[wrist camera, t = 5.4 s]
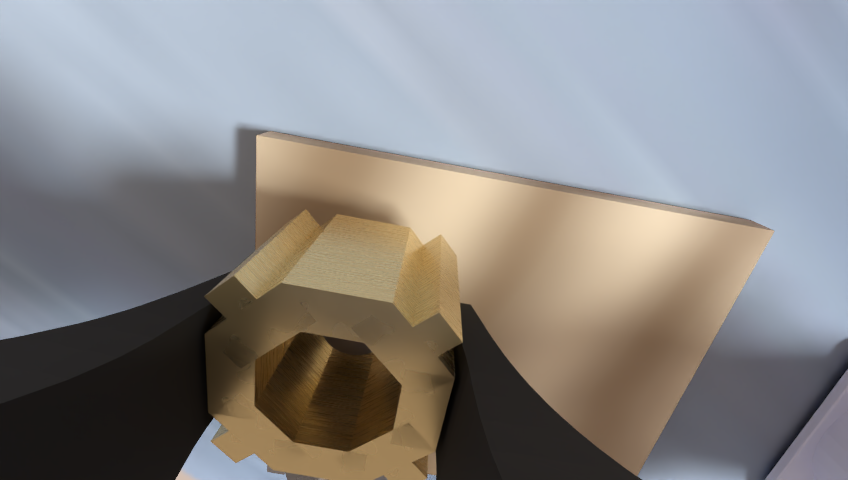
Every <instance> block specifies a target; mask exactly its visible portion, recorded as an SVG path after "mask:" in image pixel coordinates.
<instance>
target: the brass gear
mask: <svg viewBox="0 0 848 480" xmlns="http://www.w3.org/2000/svg"><path fill="white" fill-rule="evenodd" d="M204 297H205V298H206V299H207V300H208V301H209V302H210V303H211V304H212V305H213V306H214V307H215V308H216V309H217V310H218V311H219V312H220V313H221V314H222V316H221V317H220V318H219V319H218V320H217V322H216V323H215V324H214V325H213V326H212V327H211V328H210V329H209V330H208V331H207V332H206V333H205V353H206V375H207V396H208V413H209V414H211V415H212V416H213V417H214V418H215V419H216V420H217V421H219V422H220V423H221V424H222V425H221V426H220V428H219V429H218V431H217V433H216V434H215V436H214V437H213V439H212V440H211V442H212V443H213V444H214V445H215V446H217V447H218V448H219V449H220V450H221V451H222V452H224V453H225V454H226V455H227V456H228V457H229V458H231V459H232V460H233V461H234V462H235V463H237V462H239V461H241V460H243V459H245V458H246V457H248V456H250V455H252V454H254V453H255V454H256V455H257V456H258V457H259V458H260V459H261V460H263V461H264V462H265V463H266V464H267V465H268V466H269V467H270V468H272V469H273V470H275V471H281V472H287V473H293V474H299V475H305V476H311V477H317V478H323V479H328V480H374V479H376V478H378V477H381V476H383V475H384V476H385V477H386V478H387V479H388V480H424V479H427V470H428V455H429V454H431V453H433V452H435V451H436V447H437V443H438V440H439V436H440V432H441V428H442V424H443V421H444V417H445V413H446V409H447V406H448V402H449V398H450V394H451V390H452V387H453V383H454V379H455V369H454V347H455V346H457V345H459V344H461V343H463V338H462V324H461V309H460V295H459V280H458V266H457V255H456V254H455V253H454V251H453V250H452V248H451V247H450V246H449V244H448V243H447V241H446V240H445V239H444V237H443V236H442V235H441V234H440V235H439V236H437V237H436V238H434V239H432V240H431V241H429V242H428V243H426V244H424V245H423V244H422V242H421V241H420V240H419V238H418V237H417V236H416V234H415V233H414V232H413V230H412V229H411V228H410V227H405V226H399V225H394V224H389V223H383V222H378V221H372V220H367V219H361V218H356V217H351V216H345V215H340V214H336V215H335V216H334V217H332V218H331V219H329V220H328V221H326V222H325V223H324V224H322V225H321V226H320V225H319V224H318V223H317V222H316V221H315V219H314V218H313V217H312V216H311V215H310V213H309V212H308V211H307V210H306V209H305V210H304V211H303V212H301V213H300V214H299V215H297V216H296V217H294V218H293V219H292V220H290V221H289V222H287V223H286V224H285V225H284V226H282V227H281V228H280V229H279V230H278V231H277V232H276V233H275V234H274V235H272V236H271V237H270V238H269V239H268V240H267V241H266V242H265V243H263V244H262V245H261V246H260V247H259V248H258V249H257V250H256V251H254V252H253V253H252V254H251V255H250V256H249V257H248V258H247V259H246V260H244V261H243V262H242V263H241V264H240V265H239V266H238V267H237V268H235V269H234V270H233V271H232V272H231V273H230V274H229V275H228V276H226V277H225V278H224V279H223V280H222V281H221V282H220V283H219V284H218V285H216V286H215V287H214V288H213V289H212V290H211V291H210V292H209V293H207V294H206V295H205V296H204ZM323 336H328V337H334V338H339V339H345V340H351V341H356V342H362V343H365V344H366V345H367V347H368V348H369V349H370V350H371V351H372V352H371V353H368V354H364V355H349V354H345V353H342V352H340V351H338V350H336V349H334V348H333V347H332V346H331V345H330V344H329V343H328V342H327V341H326V340H325V338H324V337H323Z"/></svg>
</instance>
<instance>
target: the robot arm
mask: <svg viewBox="0 0 848 480" xmlns="http://www.w3.org/2000/svg"><path fill="white" fill-rule="evenodd" d="M231 272H232V271H231ZM231 272H229V273H226V274H224V275H221V276H219V277H216V278H214V279H211V280H209V281H206V282H204V283H201V284H199V285H196V286H193V287H191V288H188V289H186V290H183V291H181V292H178V293H175V294H172V295H169V296H167V297H164V298H161V299H158V300H155V301H153V302H150V303H147V304H144V305H141V306H138V307H135V308H132V309H129V310H126V311H122V312H119V313H116V314H112V315H109V316H105V317H101V318H98V319H94V320H90V321H87V322H83V323H79V324H74V325H70V326H65V327H61V328H56V329H52V330H47V331H43V332H38V333H34V334H29V335H25V336H20V337H14V338H9V339H3V340H0V480H175V479H176V477H177V476H178V474H179V472H180V470H181V469H182V467H183V465H184V463H185V462H186V460H187V458H188V456H189V455H190V453H191V451H192V449H193V448H194V446H195V445H196V443H197V441H198V440H199V438H200V437H201V435H202V434H203V432H204V431H205V429H206V428H207V426H208V425H209V424H210V422H211V421H212V419H213V418H214V417H213V416H212V415H211V414H209V413H208V396H207V375H206V353H205V333H206V332H207V331H208V330H209V329H210V328H211V327H212V326H213V325H214V324H215V323H216V322H217V320H218V319H219V318H220V317H221V316H222V314H221V313H220V312H219V311H218V310H217V309H216V308H215V307H214V306H213V305H212V304H211V303H210V302H209V301H208V300H207V299H206V298H205V297H204V296H205V295H206V294H207V293H209V292H210V291H211V290H212V289H213V288H214V287H215V286H216V285H218V284H219V283H220V282H221V281H222V280H223V279H224V278H225V277H226V276H228V275H229V274H230V273H231ZM460 309H461V324H462V338H463V343H461V344H459V345H457V346H455V347H454V369H455V379H454V383H453V387H452V390H451V394H450V398H449V402H448V406H447V409H446V413H445V417H444V421H443V424H442V428H441V432H440V436H439V440H438V443H437V447H436V480H642V479H640V478H639V477H637V476H636V475H634V474H633V473H631V472H630V471H629V470H627V469H626V468H624V467H623V466H622V465H620V464H619V463H618V462H616V461H615V460H614V459H612V458H611V457H610V456H608V455H607V454H606V453H604V452H603V451H602V450H600V449H599V448H598V447H597V446H595V445H594V444H593V443H592V442H590V441H589V440H588V439H587V438H585V437H584V436H583V435H582V434H581V433H579V432H578V431H577V430H576V429H575V428H574V427H573V426H572V425H570V424H569V423H568V422H567V421H566V420H565V419H564V418H562V417H561V416H560V415H559V414H558V413H557V412H556V411H555V410H554V409H553V408H552V407H551V406H550V405H548V404H547V403H546V402H545V400H544V399H543V398H542V397H541V396H540V395H539V394H538V393H537V392H536V391H535V390H534V389H533V388H532V387H531V386H530V385H529V384H528V383H527V382H526V380H525V379H524V378H523V377H522V376H521V375H520V374H519V372H518V371H517V370H516V369H515V367H514V366H513V365H512V364H511V363H510V361H509V360H508V359H507V357H506V356H505V355H504V354H503V352H502V351H501V349H500V348H499V347H498V345H497V344H496V342H495V341H494V340H493V338H492V337H491V335H490V334H489V332H488V331H487V329H486V327H485V326H484V324H483V323H482V321H481V320H480V318H479V316H478V315H477V313H476V312H475V310H474V309H473V307H472V306H471V305H470V304H465V303H460ZM765 480H848V369H847V370H846V372H845V373H844V374H843V376H842V377H841V378H840V380H839V381H838V383H837V384H836V385H835V387H834V388H833V389H832V391H831V392H830V393H829V395H828V396H827V397H826V399H825V400H824V401H823V403H822V404H821V405H820V407H819V408H818V409H817V411H816V412H815V413H814V415H813V416H812V417H811V419H810V420H809V421H808V423H807V424H806V425H805V427H804V428H803V429H802V431H801V432H800V433H799V435H798V436H797V437H796V439H795V440H794V441H793V443H792V444H791V445H790V447H789V448H788V449H787V451H786V452H785V453H784V455H783V456H782V457H781V459H780V460H779V461H778V463H777V464H776V465H775V467H774V468H773V469H772V471H771V472H770V473H769V475H768V476H767V477H766V479H765Z"/></svg>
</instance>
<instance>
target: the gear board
mask: <svg viewBox="0 0 848 480" xmlns="http://www.w3.org/2000/svg"><path fill="white" fill-rule="evenodd" d="M305 209H306V210H307V211H308V212H309V213H310V215H311V216H312V217H313V218H314V219H315V221H316V222H317V223H318V224H319V225H320V226H321V225H322V224H324V223H325V222H326V221H328V220H329V219H331V218H332V217H334V216H335V215H336V214H340V215H345V216H351V217H356V218H361V219H367V220H372V221H378V222H383V223H389V224H394V225H399V226H405V227H410V228H411V229H412V230H413V232H414V233H415V234H416V236H417V237H418V238H419V240H420V241H421V242H422V244H423V245H424V244H426V243H428V242H429V241H431V240H432V239H434V238H436V237H437V236H439V235H440V234H441V235H442V236H443V237H444V239H445V240H446V241H447V243H448V244H449V246H450V247H451V248H452V250H453V251H454V253H455V254H456V255H457V266H458V280H459V295H460V303H465V304H470V305H471V306H472V307H473V309H474V310H475V312H476V313H477V315H478V316H479V318H480V320H481V321H482V323H483V324H484V326H485V327H486V329H487V331H488V332H489V334H490V335H491V337H492V338H493V340H494V341H495V342H496V344H497V345H498V347H499V348H500V349H501V351H502V352H503V354H504V355H505V356H506V357H507V359H508V360H509V361H510V363H511V364H512V365H513V366H514V367H515V369H516V370H517V371H518V372H519V374H520V375H521V376H522V377H523V378H524V379H525V380H526V382H527V383H528V384H529V385H530V386H531V387H532V388H533V389H534V390H535V391H536V392H537V393H538V394H539V395H540V396H541V397H542V398H543V399H544V400H545V402H546V403H547V404H548V405H550V406H551V407H552V408H553V409H554V410H555V411H556V412H557V413H558V414H559V415H560V416H561V417H562V418H564V419H565V420H566V421H567V422H568V423H569V424H570V425H572V426H573V427H574V428H575V429H576V430H577V431H578V432H579V433H581V434H582V435H583V436H584V437H585V438H587V439H588V440H589V441H590V442H592V443H593V444H594V445H595V446H597V447H598V448H599V449H600V450H602V451H603V452H604V453H606V454H607V455H608V456H610V457H611V458H612V459H614V460H615V461H616V462H618V463H619V464H620V465H622V466H623V467H624V468H626V469H627V470H629V471H630V472H631V473H633V474H634V475H636V476H637V475H638V474H639V472H640V470H641V468H642V466H643V465H644V463H645V461H646V459H647V458H648V456H649V454H650V452H651V450H652V449H653V447H654V445H655V443H656V441H657V440H658V438H659V436H660V434H661V433H662V431H663V429H664V427H665V425H666V424H667V422H668V420H669V418H670V417H671V415H672V413H673V411H674V409H675V408H676V406H677V404H678V402H679V400H680V399H681V397H682V395H683V393H684V392H685V390H686V388H687V386H688V384H689V383H690V381H691V379H692V377H693V376H694V374H695V372H696V370H697V368H698V367H699V365H700V363H701V361H702V359H703V358H704V356H705V354H706V352H707V351H708V349H709V347H710V345H711V343H712V342H713V340H714V338H715V336H716V334H717V333H718V331H719V329H720V327H721V326H722V324H723V322H724V320H725V318H726V317H727V315H728V313H729V311H730V310H731V308H732V306H733V304H734V302H735V301H736V299H737V297H738V295H739V293H740V292H741V290H742V288H743V286H744V285H745V283H746V281H747V279H748V277H749V276H750V274H751V272H752V270H753V268H754V267H755V265H756V263H757V261H758V260H759V258H760V256H761V254H762V252H763V251H764V249H765V247H766V245H767V244H768V242H769V240H770V238H771V236H772V235H773V233H774V231H773V230H771V229H769V228H767V227H765V226H762V225H760V224H758V223H756V222H754V221H751V220H747V219H742V218H736V217H731V216H725V215H720V214H715V213H709V212H704V211H698V210H693V209H688V208H682V207H677V206H671V205H666V204H661V203H655V202H650V201H645V200H639V199H634V198H628V197H623V196H618V195H612V194H607V193H601V192H596V191H591V190H585V189H580V188H574V187H569V186H564V185H558V184H553V183H547V182H542V181H537V180H531V179H526V178H520V177H515V176H510V175H504V174H499V173H493V172H488V171H483V170H477V169H472V168H467V167H461V166H456V165H450V164H445V163H440V162H434V161H429V160H423V159H418V158H413V157H407V156H402V155H396V154H391V153H386V152H380V151H375V150H369V149H364V148H359V147H353V146H348V145H342V144H337V143H332V142H326V141H321V140H315V139H310V138H305V137H299V136H294V135H289V134H283V133H278V132H272V131H269V132H266V133H262V134H259V135H256V238H255V251H256V250H257V249H258V248H259V247H260V246H261V245H262V244H263V243H265V242H266V241H267V240H268V239H269V238H270V237H271V236H272V235H274V234H275V233H276V232H277V231H278V230H279V229H280V228H281V227H282V226H284V225H285V224H286V223H287V222H289V221H290V220H292V219H293V218H294V217H296V216H297V215H299V214H300V213H301V212H303V211H304V210H305ZM323 337H324V338H325V340H326V341H327V342H328V343H329V344H330V345H331V346H332V347H333V348H334V349H336V350H338V351H340V352H342V353H345V354H349V355H364V354H368V353H371V352H372V351H371V350H370V349H369V348H368V347H367V345H366V344H365V343H362V342H356V341H351V340H345V339H339V338H334V337H328V336H323ZM427 474H431V475H436V451H435V452H433V453H431V454H429V455H428V470H427Z"/></svg>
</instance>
